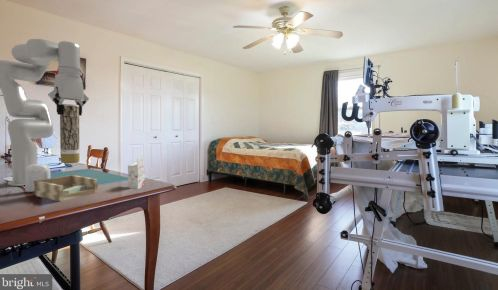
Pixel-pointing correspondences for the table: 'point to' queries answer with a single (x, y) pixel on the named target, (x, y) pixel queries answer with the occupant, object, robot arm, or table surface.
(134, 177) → the ink cartridge box
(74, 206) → the table surface
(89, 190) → the tan open tray
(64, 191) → the sage offcut
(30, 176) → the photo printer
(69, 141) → the bark covered post
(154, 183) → the table surface
